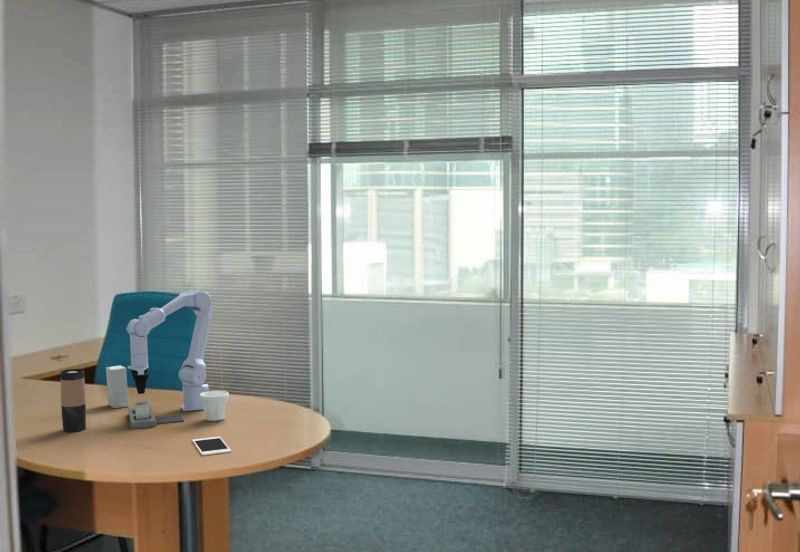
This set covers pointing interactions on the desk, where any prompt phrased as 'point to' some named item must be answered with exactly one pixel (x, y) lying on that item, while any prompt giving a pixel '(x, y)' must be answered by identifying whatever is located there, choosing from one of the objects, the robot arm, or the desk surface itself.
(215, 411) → the cup
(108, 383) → the skincare box
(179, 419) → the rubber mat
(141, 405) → the grey boxy piece
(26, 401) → the desk surface
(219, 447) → the cell phone
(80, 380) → the travel mug
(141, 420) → the grey flat block
